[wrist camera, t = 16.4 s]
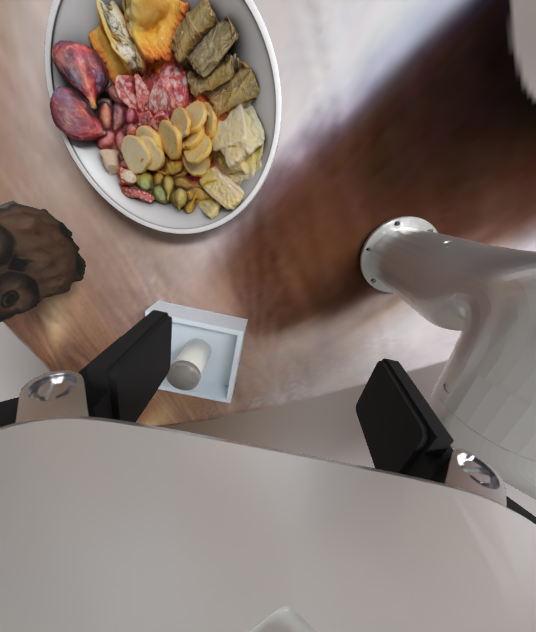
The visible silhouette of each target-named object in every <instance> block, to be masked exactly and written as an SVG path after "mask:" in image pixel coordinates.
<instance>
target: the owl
mask: <svg viewBox="0 0 536 632" xmlns="http://www.w3.org/2000/svg"><path fill="white" fill-rule="evenodd" d="M71 236H72V232H71V231H70V230H68V229H67V228H66V226H65V225H64V224H63V223H62V222H60V221H58V220H56V219H55V218H54V217H53V216H52V215H51V214H49V213H48V211H47V210H45V209H41V210H39V209H36V208H33V207H29V206H24V205H21V204H17V203H16V202H14V201H11V202H8V203H5V204H3V205H1V206H0V322H2V321H4V320H6V319H9V318H11V317H13V316H14V315H15V314H21V313H23V312H26V311H28V310H30V309H32V308H33V307H36V305H37V303H39V302H40V301H41V300H42V298H45V297H50V296H53V295H57V294H62V293H65V292H68V291H69V290H70V285H71V283H72V282H73V281H81V280H82V279H83V274H84V273H85V267H86V265H85V261H84V259H83V258H82V257H81V256H80V255H79V253H78V250H79V247H78V246H77V245H76V244H75V243H74V241H73V239H72V238H71Z"/></svg>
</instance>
